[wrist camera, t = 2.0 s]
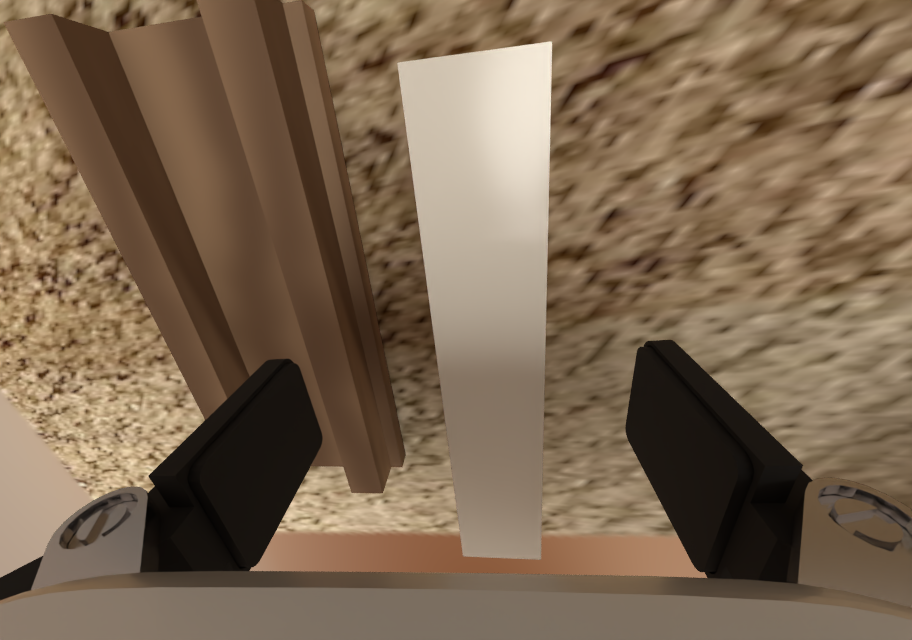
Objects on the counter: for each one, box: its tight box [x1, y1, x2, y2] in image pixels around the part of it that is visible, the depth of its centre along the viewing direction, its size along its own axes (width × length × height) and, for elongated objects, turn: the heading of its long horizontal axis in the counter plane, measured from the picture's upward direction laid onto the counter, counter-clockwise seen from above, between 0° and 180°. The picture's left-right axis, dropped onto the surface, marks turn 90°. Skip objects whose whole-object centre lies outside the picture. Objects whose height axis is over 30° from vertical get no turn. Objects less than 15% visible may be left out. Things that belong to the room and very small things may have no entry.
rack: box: [4, 0, 405, 493], centre depth 18 cm, size 11×24×3 cm, turn 5°
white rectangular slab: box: [398, 42, 552, 560], centre depth 14 cm, size 3×16×9 cm, turn 5°
